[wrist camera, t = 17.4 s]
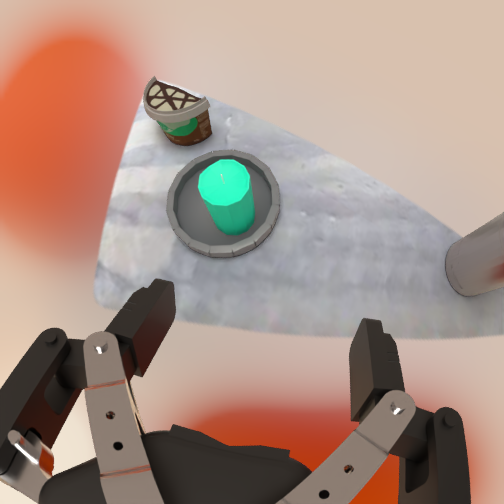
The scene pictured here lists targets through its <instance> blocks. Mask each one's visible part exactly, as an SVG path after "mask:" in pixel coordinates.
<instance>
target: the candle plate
mask: <svg viewBox="0 0 504 504" xmlns="http://www.w3.org/2000/svg"><path fill="white" fill-rule="evenodd" d="M219 160H235V161H237V162H238V163H240V164H242V165H244V166H245V168H246V170H247V172H248V173H249V175H250V180H251V187H252V193H253V200H254V207H255V219H254V223H253V225H252V226H251V227H250V229H249V230H248V231H247V232H244V233H242V234H240V235H238V236H236V235H226V234H225V233H223V232H222V231H220V230H219V229H218V228H217V226H216V224H215V222H214V220H213V218H212V216H211V214H210V212H209V210H208V208H207V206H206V204H205V202H204V200H203V198H202V196H201V194H200V192H199V189H198V183H199V176H200V174H201V173H202V172H203V171H204V170H205V169H206V168H207V167H209V166H210V165H212V164H214V163H215V162H217V161H219ZM279 208H280V202H279V186H278V183H277V181H276V179H275V177H274V175H273V174H272V172H271V170H270V168H268V166H267V165H265V164H264V163H263V162H262V161H260V160H259V159H258V158H256V157H255V156H254V155H253V156H252V155H251V154H248V153H244V152H241V151H237V150H219V151H213V153H212V151H211V152H209V153H207V154H204V155H202V156H200V157H197V158H195V159H194V160H192V161H191V162H189V163H188V164H187V165H186V166H185V167H184V168H183V169H182V170H181V171H180V172H178V174H177V175H176V177H175V179H174V181H173V183H172V185H171V187H170V189H169V192H168V198H167V209H166V211H167V215H168V218H169V221H170V223H171V226H172V229H173V231H174V232H175V233H176V234H177V235H178V236H179V237H180V238H181V239H182V240H183V241H184V242H185V243H186V244H187V245H188V246H189V247H190V248H191V249H192V250H195V251H196V252H198V253H200V254H203V255H206V256H209V257H215V258H229V257H235V256H239V255H242V254H244V253H247V252H249V251H251V250H252V249H254V248H255V247H257V246H258V245H259V244H261V243H262V242H263V241H264V240H265V239H266V237H267V236H268V235H269V234H270V232H271V231H272V229H273V227H274V225H275V223H276V220H277V216H278V213H279Z"/></svg>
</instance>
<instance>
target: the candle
mask: <svg viewBox="0 0 504 504" xmlns="http://www.w3.org/2000/svg"><path fill="white" fill-rule="evenodd" d="M198 189H199V192H200V194H201V196H202V198H203V200H204V202H205V204H206V206H207V208H208V210H209V212H210V214H211V216H212V218H213V220H214V222H215V224H216V226H217V228H218V229H219V230H220V231H222V232H223V233H225V234H226V235H236V236H238V235H240V234H242V233H244V232H247V231H248V230H249V229H250V227H251V226H252V225H253V223H254V219H255V207H254V200H253V193H252V187H251V180H250V175H249V173H248V172H247V170H246V168H245V166H244V165H242V164H240V163H238V162H237V161H235V160H219V161H217V162H215V163H214V164H212V165H210V166H209V167H207V168H206V169H205V170H204V171H203V172H202V173H201V174H200V176H199V183H198Z"/></svg>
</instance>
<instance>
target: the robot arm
mask: <svg viewBox="0 0 504 504" xmlns="http://www.w3.org/2000/svg"><path fill="white" fill-rule="evenodd" d="M446 273H447V276H448V279H449V282H450V283H451V285H452V287H453V288H454V289H455V290H456V291H457V292H458V293H459V294H462V295H464V296H474V295H478V294H481V293H485V292H489V291H492V290H496V289H499V288H502V287H504V212H503V213H502V214H500V215H499V216H497V217H495V218H494V219H493V220H491V221H490V222H488V223H486V224H485V225H483V226H481V227H480V228H478V229H477V230H475V231H474V232H472V233H470V234H469V235H467V236H465V237H464V238H462V239H460V240H459V241H457V242H455V243H454V244H453V245H452V246H451V247H450V249H449V251H448V253H447V256H446ZM175 313H176V306H175V292H174V284H173V282H171V281H166V280H162V279H157V278H156V279H155V280H154V281H153V282H152V283H151V285H150V286H149V287H148V288H145V287H142V288H141V289H139V290H138V291H136V292H134V293H133V294H132V296H131V297H130V298H129V299H128V301H127V302H126V303H125V305H124V306H123V308H122V309H121V310H120V311H119V312H118V314H117V315H116V316H115V318H114V319H113V320H112V322H111V323H110V324H109V326H108V327H107V328H106V330H105V331H103V332H102V331H101V332H96V333H93V334H91V335H90V336H89V337H88V338H87V339H86V340H79V339H68V338H67V336H66V334H65V332H64V331H63V330H62V329H59V328H50V329H47V330H45V331H43V332H42V333H41V334H40V335H39V336H38V338H37V339H36V340H35V342H34V343H33V344H32V345H31V347H30V348H29V349H28V351H27V352H26V354H25V355H24V356H23V358H22V359H21V360H20V362H19V363H18V365H17V366H16V367H15V369H14V370H13V372H12V373H11V374H10V376H9V377H8V379H7V380H6V382H5V383H4V385H3V386H2V388H1V389H0V481H2V482H3V483H4V484H6V485H9V486H11V487H12V488H14V489H16V490H17V491H20V492H21V493H23V494H24V495H26V496H27V497H29V498H30V499H32V500H33V501H35V502H37V503H38V504H348V503H349V502H350V501H351V500H352V499H353V498H354V497H355V496H356V495H357V493H358V492H359V491H360V490H361V489H362V488H363V487H364V485H365V484H366V483H367V482H368V481H369V480H370V478H371V477H372V476H373V474H375V472H376V471H377V470H378V468H379V467H380V466H381V465H382V463H383V462H384V461H385V459H386V458H387V456H388V455H389V453H390V454H393V455H396V456H399V458H400V459H399V460H400V462H399V463H400V465H399V495H398V504H471V495H470V478H469V467H468V457H467V449H466V442H465V435H464V428H463V422H462V418H461V417H460V415H459V413H458V412H457V411H455V410H454V409H452V408H449V407H443V408H440V409H439V410H437V411H436V412H435V413H432V412H429V411H426V410H423V409H420V408H418V407H416V406H415V402H414V400H413V399H412V397H411V396H410V395H408V394H407V393H405V388H404V382H403V377H402V371H401V366H400V363H399V356H398V351H397V346H396V343H395V341H394V340H393V338H392V337H391V335H390V334H386V333H383V328H382V323H381V321H380V320H374V319H367V318H363V319H362V321H361V323H360V325H359V328H358V330H357V332H356V335H355V337H354V339H353V341H352V344H351V347H350V353H349V365H350V389H351V390H350V393H351V421H356V422H359V426H358V427H357V429H355V430H354V431H353V432H352V433H351V434H350V435H349V436H348V437H347V439H346V440H345V441H344V442H343V443H342V444H341V445H340V446H339V447H338V448H337V449H336V450H335V451H334V452H333V453H332V454H331V455H330V456H329V457H328V458H327V459H326V460H325V461H324V462H323V463H322V464H321V465H320V466H319V467H318V468H317V469H316V470H315V471H314V472H312V471H311V470H310V469H309V468H307V467H306V466H305V465H303V464H302V463H300V462H299V461H297V460H294V459H292V458H290V457H289V452H290V450H286V449H279V448H273V447H267V446H261V445H259V446H228V445H225V444H223V443H221V442H219V441H217V440H215V439H213V438H211V437H209V436H207V435H205V434H203V433H201V432H199V431H195V430H191V429H188V428H185V427H181V426H178V425H174V424H173V425H172V427H171V430H170V431H153V432H150V433H146V431H145V429H144V426H143V423H142V421H141V418H140V414H139V411H138V407H137V404H136V400H135V397H134V393H133V389H132V386H131V382H130V380H131V378H132V377H133V375H137V376H140V377H143V375H144V374H145V372H146V370H147V368H148V366H149V365H150V363H151V361H152V359H153V357H154V355H155V354H156V352H157V350H158V348H159V346H160V345H161V343H162V341H163V339H164V337H165V336H166V334H167V332H168V330H169V329H170V327H171V325H172V323H173V321H174V318H175ZM83 389H85V398H86V405H87V412H88V417H89V423H90V428H91V433H92V438H93V443H94V448H95V452H96V456H97V457H95V458H93V459H91V460H89V461H86V462H84V463H82V464H80V465H77V466H75V467H73V468H71V469H68V470H65V471H63V472H61V473H58V474H56V475H54V476H52V471H53V469H54V456H53V453H52V452H51V448H52V446H53V444H54V442H55V440H56V438H57V436H58V434H59V433H60V430H61V429H62V427H63V425H64V423H65V421H66V419H67V417H68V415H69V413H70V412H71V410H72V408H73V406H74V404H75V402H76V400H77V398H78V397H79V395H80V393H81V391H82V390H83Z"/></svg>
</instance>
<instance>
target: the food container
mask: <svg viewBox="0 0 504 504" xmlns="http://www.w3.org/2000/svg"><path fill="white" fill-rule="evenodd" d="M143 102H144V107H145V111H146V113H147V114H148V115H149V116H150V117H151V118H152V119H154V120H156V121H157V122H158V124H159V125H160V127H161V128H162V130H163V131H164V133H165V134H166V136H167V137H168V138H169V140H170V141H171V142H173V143H175V144H177V145H182V146H189V145H194V144H197V143H199V142H202V141H203V140H205V139H207V138H208V137H209V136H210V135H211V134H212V130H211V125H210V119H209V113H208V108H209V107H210V104H209V102H208V100H207V99H206V97H205V96H204V97H203V98H202V99H201V98H198V97H195V96H193V95H191V94H189V93H187V92H185V91H183V90H181V89H179V88H177V87H174V86H170V85H167V84H164V83H162V82H159V81H157V79H156V78H155V76H154V77H153V78H152V79H151V80H150V81H149V82H148V84H147V85H146V87H145V90H144V96H143Z"/></svg>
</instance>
